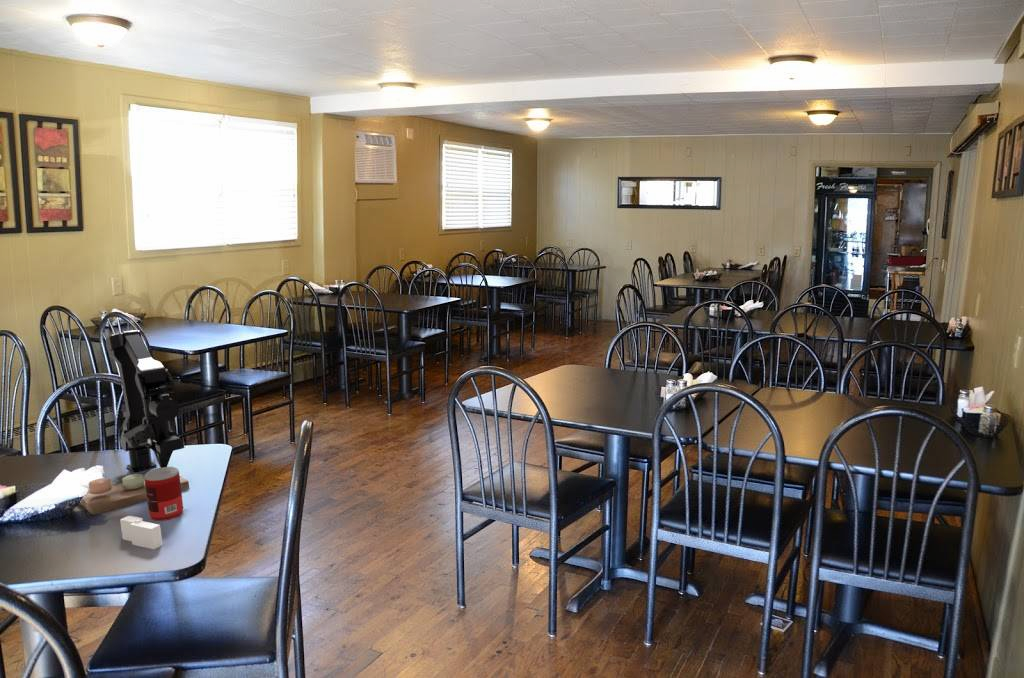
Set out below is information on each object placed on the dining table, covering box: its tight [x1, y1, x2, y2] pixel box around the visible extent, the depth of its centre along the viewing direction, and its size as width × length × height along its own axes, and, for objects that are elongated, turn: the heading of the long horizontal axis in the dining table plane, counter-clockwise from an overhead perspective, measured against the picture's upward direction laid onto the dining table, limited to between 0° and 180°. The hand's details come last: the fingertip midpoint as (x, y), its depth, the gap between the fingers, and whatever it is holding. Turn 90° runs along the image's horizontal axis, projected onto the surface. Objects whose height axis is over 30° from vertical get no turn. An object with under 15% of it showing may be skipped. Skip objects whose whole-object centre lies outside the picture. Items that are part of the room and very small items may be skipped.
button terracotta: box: [88, 477, 112, 494], centre depth 207 cm, size 5×5×3 cm
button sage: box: [121, 473, 144, 490], centre depth 213 cm, size 5×5×3 cm
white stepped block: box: [119, 515, 163, 550], centre depth 184 cm, size 15×11×6 cm
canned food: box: [143, 466, 184, 522], centre depth 198 cm, size 8×8×11 cm
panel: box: [80, 474, 190, 516], centre depth 213 cm, size 12×24×2 cm, turn 133°
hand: (163, 469), depth 218 cm, fingers closed, pressing on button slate
